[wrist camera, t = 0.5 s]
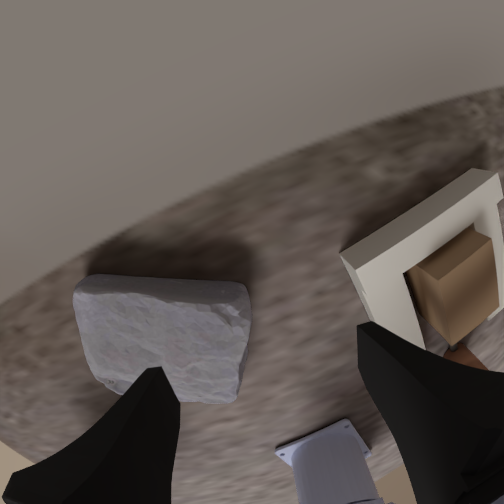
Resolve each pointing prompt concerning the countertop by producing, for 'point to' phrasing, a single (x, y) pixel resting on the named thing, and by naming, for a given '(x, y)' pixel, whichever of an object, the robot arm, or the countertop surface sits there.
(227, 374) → the stone block
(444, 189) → the frame
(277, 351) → the countertop surface
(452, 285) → the string block
